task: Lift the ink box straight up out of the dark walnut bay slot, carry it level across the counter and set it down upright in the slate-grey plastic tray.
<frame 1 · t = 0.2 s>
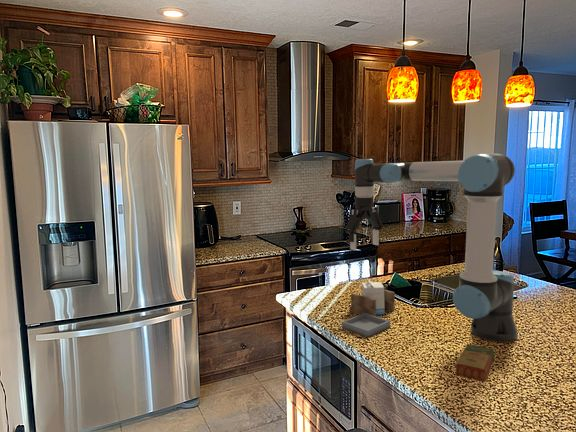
hand: (364, 247, 179), 27 cm above the worktop, fingers open, 13 cm apart
carton: (475, 368, 131), on the worktop
bay: (372, 311, 181), on the worktop
tray: (365, 327, 164), on the worktop
ink box: (372, 311, 181), on the worktop
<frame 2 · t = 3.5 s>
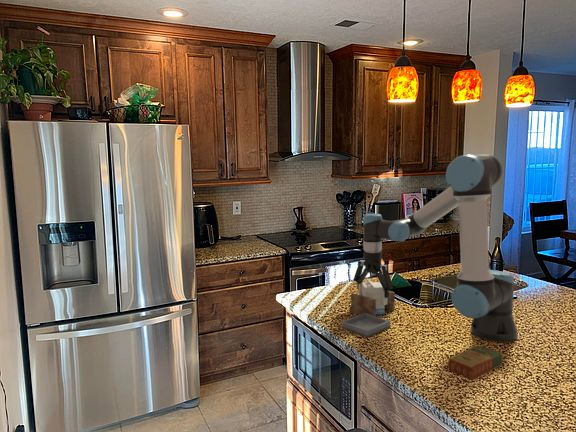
hand: (372, 301, 181), 4 cm above the worktop, fingers closed on ink box, 11 cm apart
ink box: (372, 311, 181), on the worktop, touching gripper
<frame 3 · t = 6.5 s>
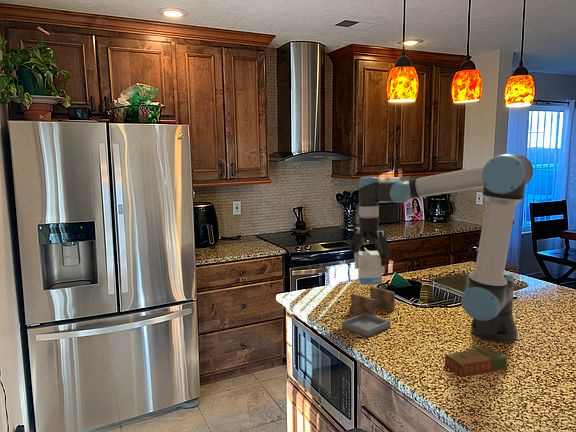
hand: (369, 270, 170), 20 cm above the worktop, fingers closed on ink box, 11 cm apart
ink box: (369, 282, 170), point 15 cm above the worktop, touching gripper
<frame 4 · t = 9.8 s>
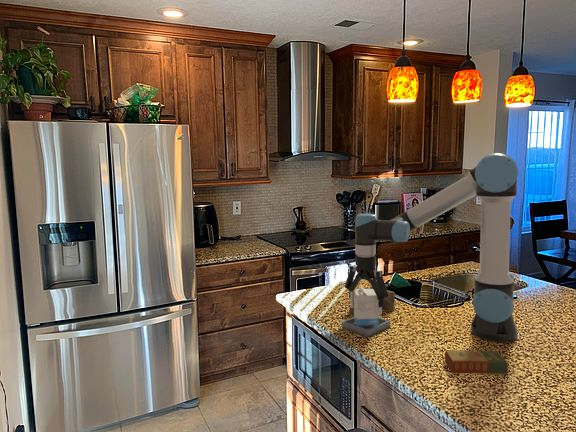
hand: (365, 310, 163), 7 cm above the worktop, fingers closed on ink box, 11 cm apart
ink box: (366, 321, 163), point 2 cm above the worktop, touching gripper, tray
when the fingers open (7 cm above the worktop, at t = 10.3 s): ink box stays where it is, resting on tray.
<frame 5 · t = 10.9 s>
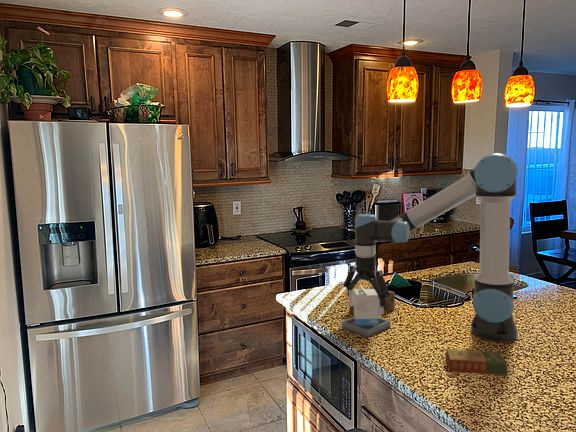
hand: (365, 310, 163), 7 cm above the worktop, fingers open, 13 cm apart
ink box: (366, 321, 163), point 2 cm above the worktop, touching tray
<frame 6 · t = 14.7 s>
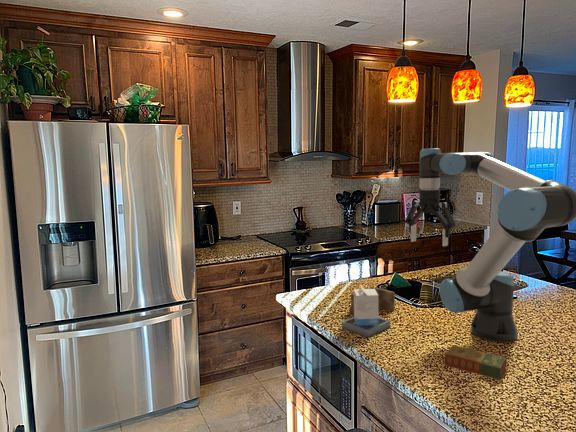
hand: (428, 243, 167), 31 cm above the worktop, fingers open, 13 cm apart
at the end: ink box inside the target area on the tray (0.1 cm from its centre), point 2.3 cm above the tray's base; ink box tilted 0°; the gripper is holding nothing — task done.
